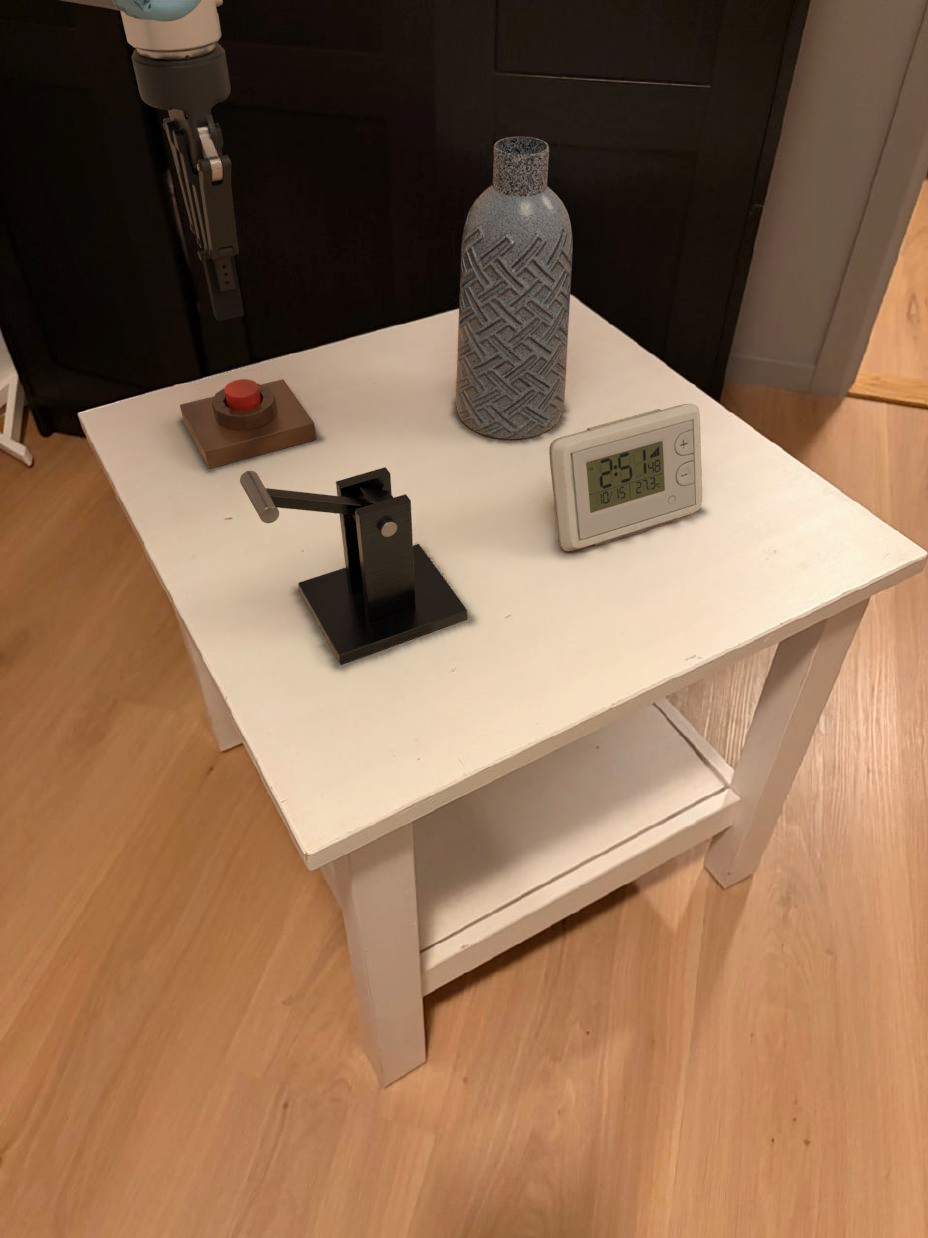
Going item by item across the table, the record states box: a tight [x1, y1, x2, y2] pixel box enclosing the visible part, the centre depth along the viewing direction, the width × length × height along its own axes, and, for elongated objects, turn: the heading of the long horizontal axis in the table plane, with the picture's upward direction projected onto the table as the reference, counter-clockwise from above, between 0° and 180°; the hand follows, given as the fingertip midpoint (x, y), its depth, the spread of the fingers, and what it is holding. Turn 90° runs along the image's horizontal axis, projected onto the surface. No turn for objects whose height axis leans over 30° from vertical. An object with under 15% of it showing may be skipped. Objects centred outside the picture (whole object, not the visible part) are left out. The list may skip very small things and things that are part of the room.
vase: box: [455, 136, 574, 440], centre depth 95 cm, size 12×12×28 cm
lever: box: [239, 470, 395, 524], centre depth 72 cm, size 12×5×2 cm, turn 117°
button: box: [223, 378, 261, 410], centre depth 99 cm, size 4×4×2 cm
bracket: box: [297, 466, 468, 666], centre depth 78 cm, size 12×10×13 cm
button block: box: [179, 378, 317, 470], centre depth 101 cm, size 12×10×4 cm
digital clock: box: [548, 403, 703, 552], centre depth 88 cm, size 16×9×11 cm, turn 103°
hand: (229, 314), depth 92 cm, fingers closed
